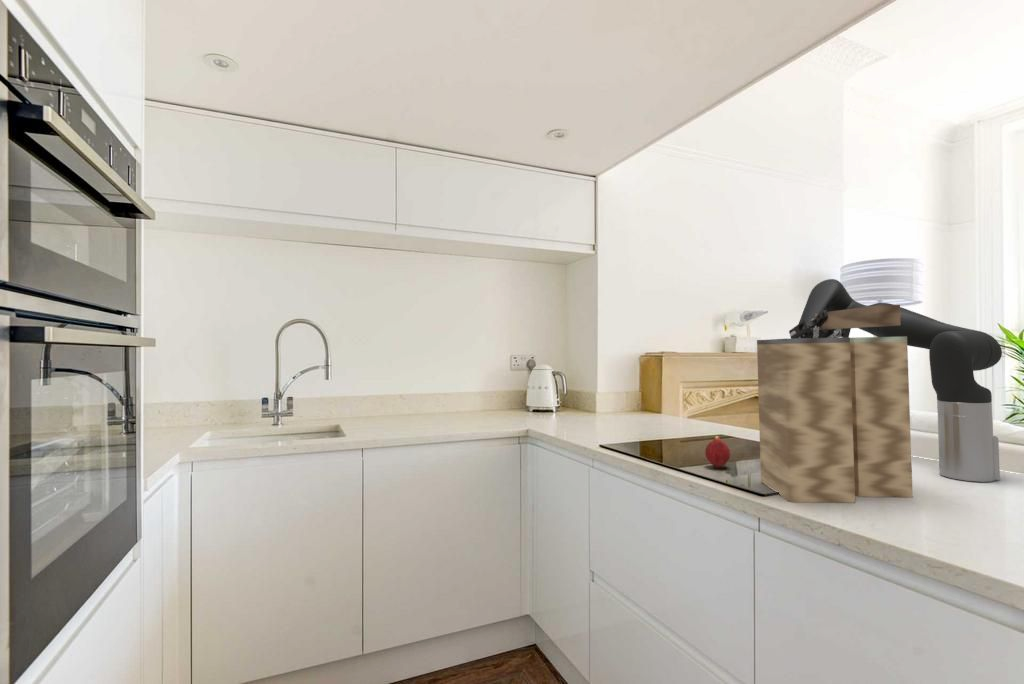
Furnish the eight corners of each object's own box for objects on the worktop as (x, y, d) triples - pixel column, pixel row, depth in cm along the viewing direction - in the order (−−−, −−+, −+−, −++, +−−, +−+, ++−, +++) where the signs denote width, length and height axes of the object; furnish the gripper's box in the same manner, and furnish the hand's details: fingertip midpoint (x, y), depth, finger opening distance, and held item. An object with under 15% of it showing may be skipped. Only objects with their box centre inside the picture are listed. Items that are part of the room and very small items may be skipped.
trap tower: (817, 483, 109) (813, 339, 110) (855, 502, 95) (849, 337, 96) (761, 482, 110) (756, 340, 111) (790, 501, 96) (785, 338, 97)
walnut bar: (832, 329, 119) (832, 312, 120) (900, 325, 96) (899, 304, 96) (815, 329, 120) (815, 313, 120) (878, 325, 96) (878, 305, 96)
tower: (868, 478, 112) (864, 338, 112) (912, 497, 98) (907, 336, 98) (822, 478, 113) (817, 339, 113) (859, 496, 99) (853, 337, 99)
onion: (732, 471, 121) (732, 438, 121) (708, 470, 122) (707, 438, 122) (727, 465, 127) (726, 434, 127) (703, 464, 128) (703, 434, 128)
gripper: (773, 337, 132) (799, 300, 117) (830, 336, 130) (863, 299, 115) (780, 362, 128) (808, 327, 113) (838, 361, 126) (874, 326, 112)
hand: (836, 313), depth 114 cm, fingers closed on walnut bar, 4 cm apart
